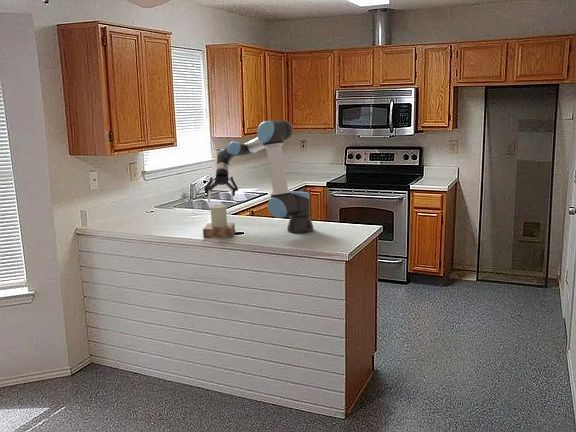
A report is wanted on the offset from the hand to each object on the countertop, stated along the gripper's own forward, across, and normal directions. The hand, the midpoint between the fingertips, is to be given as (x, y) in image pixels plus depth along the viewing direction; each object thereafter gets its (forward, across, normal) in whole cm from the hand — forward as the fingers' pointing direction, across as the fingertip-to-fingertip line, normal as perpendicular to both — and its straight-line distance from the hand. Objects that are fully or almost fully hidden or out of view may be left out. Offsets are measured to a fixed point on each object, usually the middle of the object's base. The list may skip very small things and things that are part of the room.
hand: (220, 200), depth 332 cm
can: (+17, 0, -3) cm, 17 cm away
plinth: (+20, 0, -6) cm, 21 cm away
